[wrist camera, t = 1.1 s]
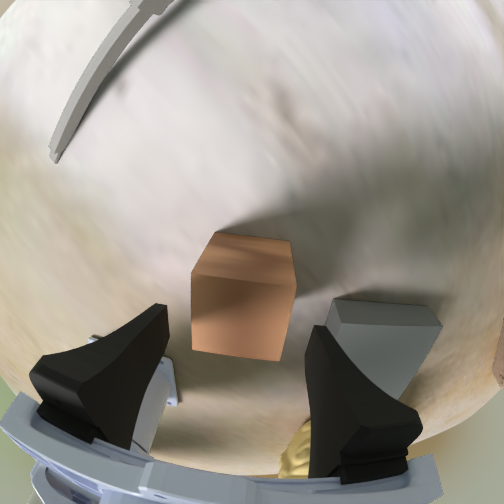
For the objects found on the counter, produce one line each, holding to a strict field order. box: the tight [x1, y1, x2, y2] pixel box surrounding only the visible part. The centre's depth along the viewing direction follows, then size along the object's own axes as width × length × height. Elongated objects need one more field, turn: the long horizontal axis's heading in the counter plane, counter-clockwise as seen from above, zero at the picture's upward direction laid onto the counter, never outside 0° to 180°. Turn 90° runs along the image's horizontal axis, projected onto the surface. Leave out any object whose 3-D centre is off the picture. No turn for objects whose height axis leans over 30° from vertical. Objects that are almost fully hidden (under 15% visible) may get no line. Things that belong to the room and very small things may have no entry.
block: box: [191, 232, 297, 361], centre depth 16 cm, size 5×5×6 cm
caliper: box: [48, 0, 174, 164], centre depth 11 cm, size 20×1×6 cm, turn 133°
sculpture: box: [278, 420, 311, 479], centre depth 22 cm, size 11×12×11 cm
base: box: [325, 299, 443, 400], centre depth 20 cm, size 9×9×3 cm
